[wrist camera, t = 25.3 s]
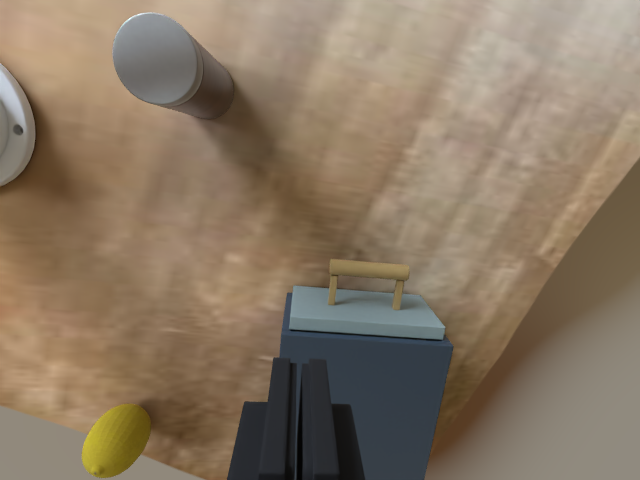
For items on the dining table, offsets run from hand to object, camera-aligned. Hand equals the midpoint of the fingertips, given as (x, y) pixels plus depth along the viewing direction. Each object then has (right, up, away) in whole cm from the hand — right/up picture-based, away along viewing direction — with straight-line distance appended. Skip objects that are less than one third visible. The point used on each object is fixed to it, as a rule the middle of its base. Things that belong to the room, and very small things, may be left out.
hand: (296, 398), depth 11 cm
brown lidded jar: (-9, +18, +20) cm, 29 cm away
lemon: (-20, -14, +28) cm, 37 cm away
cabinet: (+4, -9, +28) cm, 29 cm away
